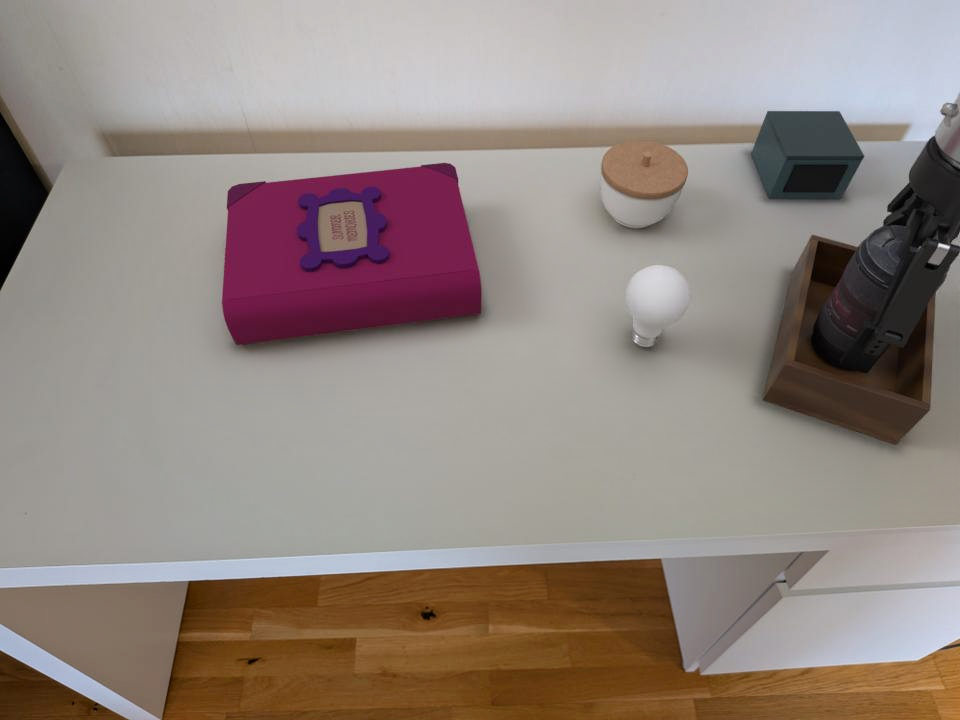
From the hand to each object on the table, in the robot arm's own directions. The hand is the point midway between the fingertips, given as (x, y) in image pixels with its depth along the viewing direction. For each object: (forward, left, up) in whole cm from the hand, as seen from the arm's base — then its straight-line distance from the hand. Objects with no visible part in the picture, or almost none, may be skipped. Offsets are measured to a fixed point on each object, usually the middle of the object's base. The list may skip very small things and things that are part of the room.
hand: (859, 320), depth 73 cm
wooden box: (0, 0, -6) cm, 6 cm away
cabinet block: (-4, -32, -6) cm, 32 cm away
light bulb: (+22, -2, -6) cm, 23 cm away
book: (+56, -13, -6) cm, 58 cm away
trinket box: (+20, -24, -6) cm, 31 cm away
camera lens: (0, 0, -5) cm, 5 cm away
